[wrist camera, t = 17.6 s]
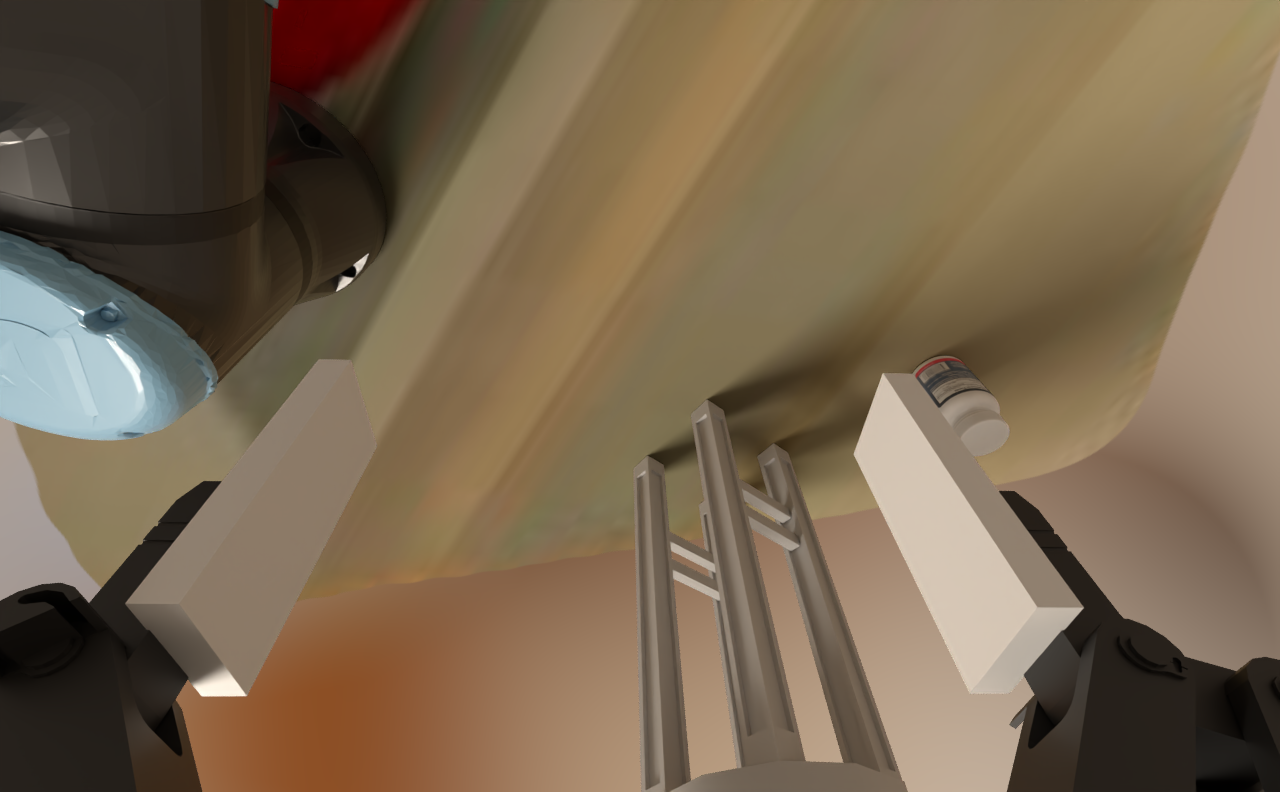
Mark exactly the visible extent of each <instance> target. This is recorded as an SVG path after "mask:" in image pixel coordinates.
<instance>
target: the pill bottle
mask: <svg viewBox="0 0 1280 792" xmlns="http://www.w3.org/2000/svg"><path fill="white" fill-rule="evenodd" d="M912 374H913V375H914V376H915V378H916V379H917V380H918V382H919V383H920V384H921V386H922V387H923V389H924V390H925V391H926V393H927V394H928V395H929V397H930V398H931V400H932V401H933V402H934V404H935V405H936V406H937V408H938V409H939V410H940V412H941V413H942V415H943V416H944V417H945V419H946V420H947V421H948V423H949V424H950V425H951V427H952V428H953V430H954V431H955V432H956V434H957V435H958V436H959V438H960V439H961V440H962V442H963V443H964V445H965V446H966V447H967V449H968V450H969V451H970V453H971V454H972V456H983V455H986V454H989V453H992V452H994V451H995V450H997V449H998V448H1000V447H1001V446H1002V445H1003V444H1004V443H1005V442H1006V440H1007V439H1008V437H1009V433H1010V430H1009V426H1008V424H1007V423H1006V422H1005V421H1004V419H1003V418H1002V417H1001V416H1000V415H999V414H1000V407H999V403H998V401H997V400H996V398H995V397H994V396H993V395H992V394H991V393H990V392H989V390H988V389H987V388H986V387H985V386H984V385H983V384H982V383H981V382H980V381H979V380H978V378H977V377H976V376H975V375H974V374H973V373H972V372H971V371H970V370H969V368H968V367H967V366H966V365H965V364H964V363H963V362H962V361H961V360H959V359H958V358H956V357H952V356H938V357H934V358H931V359H929V360H927V361H925V362H924V363H922V364H921V365H920V366H918V367H917V368H916V369H915V371H914V372H913V373H912Z"/></svg>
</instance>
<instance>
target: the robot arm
mask: <svg viewBox="0 0 1280 792" xmlns="http://www.w3.org/2000/svg"><path fill="white" fill-rule="evenodd" d="M278 1H279V0H0V417H2V418H5V419H7V420H10V421H13V422H15V423H18V424H21V425H24V426H27V427H31V428H34V429H38V430H41V431H45V432H49V433H54V434H58V435H63V436H68V437H74V438H80V439H90V440H122V439H130V438H137V437H140V436H144V435H145V434H147V433H153V432H156V431H159V430H162V429H164V428H166V427H167V426H169V425H171V424H172V423H174V422H175V421H176V420H178V419H179V418H180V417H181V416H183V415H184V414H185V413H187V412H188V411H189V410H191V409H192V408H193V407H195V406H196V405H197V404H198V403H200V402H202V401H204V400H206V399H207V398H208V397H209V396H210V395H211V394H212V393H213V392H215V389H216V388H217V384H218V383H219V382H220V381H221V380H222V379H223V378H224V377H225V376H226V375H227V374H228V373H229V372H230V371H231V370H232V368H233V367H234V366H235V365H236V364H237V363H238V362H239V361H240V360H241V359H242V358H243V357H244V356H245V355H246V354H247V353H248V352H249V351H250V350H251V349H252V348H253V347H254V346H255V345H256V344H257V343H258V342H259V341H260V340H261V339H262V338H263V337H264V336H265V335H266V334H267V333H268V332H269V331H270V330H271V329H272V328H273V327H274V326H275V325H276V324H277V323H278V322H279V321H280V319H281V318H282V317H283V316H284V315H285V314H286V313H287V312H288V311H289V310H290V309H291V308H292V307H293V306H294V305H297V304H300V303H304V302H307V301H311V300H314V299H318V298H321V297H324V296H328V295H331V294H333V293H336V292H338V291H340V290H342V289H344V288H345V287H347V286H348V285H350V284H351V283H353V282H354V281H355V280H356V279H357V278H358V277H360V276H361V274H362V273H363V272H364V271H365V270H366V269H367V268H368V266H369V265H370V264H371V263H372V262H373V260H374V259H375V258H376V256H377V254H378V252H379V250H380V248H381V246H382V243H383V240H384V235H385V230H386V206H385V200H384V195H383V192H382V188H381V185H380V182H379V179H378V177H377V174H376V172H375V170H374V168H373V166H372V164H371V162H370V161H369V159H368V157H367V156H366V154H365V152H364V151H363V149H362V148H361V147H360V145H359V144H358V142H357V141H356V140H355V139H354V137H353V136H352V135H351V134H350V133H349V132H348V131H347V129H346V128H345V127H344V126H343V125H342V124H341V123H340V122H339V121H338V120H336V119H335V118H334V117H333V116H332V115H331V114H330V113H328V112H327V111H326V110H325V109H323V108H322V107H321V106H319V105H318V104H316V103H315V102H313V101H312V100H310V99H308V98H307V97H305V96H303V95H302V94H300V93H298V92H296V91H294V90H292V89H289V88H287V87H285V86H282V85H280V84H277V83H274V82H271V81H270V71H271V46H272V21H273V8H277V9H278ZM376 447H377V444H376V440H375V437H374V434H373V431H372V427H371V424H370V421H369V417H368V414H367V411H366V407H365V404H364V401H363V397H362V394H361V391H360V388H359V384H358V381H357V378H356V374H355V371H354V368H353V364H352V361H351V360H326V359H319V360H318V361H317V362H316V363H315V365H314V366H313V367H312V368H311V370H310V371H309V372H308V373H307V375H306V376H305V377H304V378H303V380H302V381H301V382H300V384H299V385H298V386H297V387H296V389H295V390H294V391H293V392H292V394H291V395H290V396H289V397H288V399H287V400H286V401H285V402H284V404H283V405H282V406H281V407H280V409H279V410H278V411H277V413H276V414H275V415H274V416H273V418H272V419H271V420H270V421H269V423H268V424H267V425H266V426H265V428H264V429H263V430H262V431H261V433H260V434H259V435H258V437H257V438H256V439H255V440H254V442H253V443H252V444H251V445H250V447H249V448H248V449H247V450H246V452H245V453H244V454H243V455H242V457H241V458H240V459H239V460H238V462H237V463H236V464H235V466H234V467H233V468H232V469H231V471H230V472H229V473H228V474H227V476H226V477H225V478H224V479H223V481H203V482H202V483H200V484H199V485H197V486H196V487H195V488H193V489H192V490H190V491H189V492H188V493H186V494H185V495H183V496H182V497H180V498H179V499H178V500H176V502H175V503H174V504H173V505H172V506H171V507H170V509H169V510H168V511H167V512H166V513H165V514H164V516H163V517H162V518H161V519H160V520H159V522H158V526H154V527H153V529H152V530H151V531H150V532H149V533H148V534H147V536H146V537H145V538H144V539H143V544H142V545H138V546H137V547H136V549H135V550H134V551H133V552H132V553H131V554H130V556H129V557H128V558H127V559H126V560H125V561H124V563H123V564H122V565H121V566H120V567H119V569H118V570H117V571H116V572H115V573H114V574H113V576H112V577H111V578H110V579H109V580H108V581H107V583H106V584H105V585H104V586H103V587H102V589H101V590H100V591H99V592H98V593H97V595H96V596H95V597H94V598H93V599H92V601H91V602H90V603H88V602H87V600H86V599H85V598H84V597H83V596H82V595H81V594H80V593H79V592H78V590H77V589H76V588H75V587H73V586H70V585H66V584H63V583H52V584H41V585H38V586H35V587H31V588H28V589H25V590H22V591H19V592H17V593H15V594H13V595H11V596H9V597H7V598H5V599H3V600H1V601H0V792H202V788H201V784H200V781H199V776H198V772H197V768H196V764H195V760H194V756H193V752H192V748H191V744H190V741H189V736H188V732H187V728H186V724H185V720H184V716H183V712H182V709H181V707H180V706H179V704H178V703H177V701H176V700H175V699H176V698H177V696H178V694H179V693H180V691H181V689H182V687H183V686H184V685H185V683H186V681H187V680H189V681H190V683H191V684H192V685H193V686H194V687H195V689H196V690H197V691H198V692H199V693H200V695H201V696H247V695H248V693H249V691H250V689H251V687H252V685H253V683H254V681H255V679H256V678H257V676H258V674H259V672H260V670H261V668H262V666H263V664H264V662H265V660H266V658H267V656H268V655H269V652H270V651H271V649H272V647H273V645H274V643H275V641H276V639H277V637H278V635H279V633H280V631H281V629H282V628H283V626H284V624H285V622H286V620H287V618H288V616H289V614H290V612H291V610H292V608H293V607H294V605H295V603H296V601H297V599H298V597H299V595H300V593H301V591H302V589H303V587H304V585H305V584H306V582H307V580H308V578H309V576H310V574H311V572H312V570H313V568H314V566H315V564H316V562H317V561H318V559H319V557H320V555H321V553H322V551H323V549H324V547H325V545H326V543H327V541H328V539H329V538H330V536H331V534H332V532H333V530H334V528H335V526H336V524H337V522H338V520H339V518H340V516H341V515H342V513H343V511H344V509H345V507H346V505H347V503H348V501H349V499H350V497H351V495H352V493H353V492H354V490H355V488H356V486H357V484H358V482H359V480H360V478H361V476H362V474H363V472H364V470H365V468H366V467H367V465H368V463H369V461H370V459H371V457H372V455H373V453H374V451H375V449H376ZM854 456H855V458H856V460H857V462H858V464H859V466H860V468H861V470H862V472H863V474H864V476H865V479H866V481H867V483H868V485H869V487H870V489H871V491H872V493H873V495H874V497H875V499H876V501H877V503H878V505H879V507H880V509H881V511H882V514H883V515H884V518H885V520H886V522H887V524H888V526H889V528H890V530H891V532H892V534H893V536H894V538H895V540H896V542H897V544H898V547H899V548H900V551H901V553H902V555H903V557H904V559H905V561H906V563H907V565H908V567H909V569H910V571H911V573H912V575H913V577H914V579H915V582H916V583H917V586H918V588H919V590H920V592H921V594H922V596H923V598H924V600H925V602H926V604H927V606H928V608H929V610H930V612H931V614H932V616H933V619H934V621H935V623H936V625H937V627H938V629H939V631H940V633H941V635H942V637H943V639H944V641H945V643H946V645H947V647H948V650H949V651H950V654H951V656H952V658H953V660H954V662H955V664H956V666H957V668H958V670H959V672H960V674H961V676H962V678H963V680H964V683H965V685H966V687H967V689H968V691H969V693H970V694H991V693H994V694H995V693H996V694H999V693H1001V694H1003V693H1004V694H1005V693H1006V694H1007V693H1010V692H1011V691H1012V690H1013V689H1014V688H1015V687H1016V685H1017V684H1018V683H1019V682H1020V681H1021V680H1022V678H1023V677H1025V678H1026V680H1027V682H1028V684H1029V685H1030V687H1031V689H1032V690H1033V692H1034V694H1035V695H1034V696H1033V697H1032V698H1031V699H1030V700H1029V702H1028V703H1027V704H1026V705H1025V706H1024V707H1023V708H1022V709H1021V710H1020V711H1019V712H1018V713H1017V714H1016V716H1015V717H1014V718H1013V720H1012V721H1011V723H1010V725H1011V726H1012V727H1014V728H1015V729H1016V728H1017V727H1018V726H1019V725H1020V724H1021V723H1022V722H1023V721H1024V722H1023V726H1022V730H1021V734H1020V739H1019V743H1018V747H1017V752H1016V756H1015V760H1014V764H1013V769H1012V773H1011V777H1010V781H1009V785H1008V790H1007V792H1280V660H1277V659H1272V658H1268V657H1262V658H1255V659H1252V660H1251V661H1249V662H1248V663H1247V664H1245V665H1244V666H1243V667H1241V668H1240V669H1239V670H1238V671H1234V670H1230V669H1227V668H1223V667H1220V666H1216V665H1212V664H1209V663H1205V662H1202V661H1198V660H1194V659H1191V658H1187V657H1184V655H1183V654H1182V652H1181V651H1180V650H1179V649H1178V648H1177V647H1176V646H1174V645H1173V644H1172V643H1171V642H1170V641H1169V640H1168V639H1167V638H1165V637H1164V636H1163V635H1161V634H1159V633H1158V632H1156V631H1154V630H1153V629H1151V628H1149V627H1148V626H1146V625H1143V624H1140V623H1138V622H1135V621H1133V620H1130V619H1124V618H1123V617H1122V616H1121V615H1120V614H1119V613H1118V612H1117V610H1116V609H1115V608H1114V606H1113V605H1112V604H1111V602H1110V601H1109V600H1108V599H1107V597H1106V596H1105V595H1104V594H1103V592H1102V591H1101V590H1100V588H1099V587H1098V586H1097V585H1096V583H1095V582H1094V581H1093V579H1092V578H1091V577H1090V576H1089V574H1088V573H1087V572H1086V570H1085V569H1084V568H1083V567H1082V565H1081V564H1080V563H1079V562H1078V560H1077V559H1076V558H1075V557H1074V555H1073V554H1072V553H1071V552H1068V551H1067V546H1066V545H1065V544H1064V542H1063V541H1062V540H1061V539H1060V537H1059V536H1058V535H1057V534H1054V530H1053V528H1052V527H1051V526H1050V524H1049V523H1048V522H1047V520H1046V519H1045V518H1044V517H1043V515H1042V514H1041V513H1040V511H1039V510H1038V509H1037V508H1035V507H1034V506H1033V505H1032V504H1030V503H1029V502H1027V501H1026V500H1025V499H1024V498H1022V497H1021V496H1020V495H1019V494H1017V493H1016V492H1015V491H998V490H997V488H996V487H995V486H994V484H993V483H992V481H991V480H990V479H989V477H988V476H987V475H986V473H985V472H984V471H983V469H982V468H981V466H980V465H979V464H978V462H977V461H976V460H975V458H974V457H973V456H972V454H971V453H970V451H969V450H968V449H967V447H966V446H965V445H964V443H963V442H962V440H961V439H960V438H959V436H958V435H957V434H956V432H955V431H954V430H953V428H952V427H951V425H950V424H949V423H948V421H947V420H946V419H945V417H944V416H943V415H942V413H941V412H940V410H939V409H938V408H937V406H936V405H935V404H934V402H933V401H932V400H931V398H930V397H929V395H928V394H927V393H926V391H925V390H924V389H923V387H922V386H921V384H920V383H919V382H918V380H917V379H916V378H915V376H914V375H913V374H906V373H883V374H882V377H881V380H880V383H879V385H878V388H877V391H876V394H875V396H874V399H873V402H872V405H871V408H870V410H869V413H868V416H867V419H866V421H865V424H864V427H863V430H862V433H861V435H860V438H859V441H858V444H857V446H856V449H855V452H854Z"/></svg>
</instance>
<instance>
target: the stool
mask: <svg viewBox="0 0 1280 792" xmlns="http://www.w3.org/2000/svg"><path fill="white" fill-rule="evenodd" d="M691 418H692V425H693V431H694V437H695V444H696V450H697V457H698V463H699V469H700V476H701V482H702V488H703V495H704V501H703V502H702V503H701V504H699V509H700V516H701V523H702V530H703V537H704V544H705V550H704V549H702V548H700V547H698V546H696V545H694V544H692V543H690V542H688V541H687V540H685V539H683V538H681V537H679V536H677V535H675V534H673V533H671V532H669V521H668V509H667V497H666V485H665V474H664V465H663V464H661V463H660V462H658V461H656V460H654V459H653V458H651V457H649V456H648V455H647V456H646V457H645V458H644V459H643V460H642V461H641V462H640V463H639V464H638V465H637V466H636V467H635V468H634V508H635V550H636V590H637V636H638V673H639V674H638V678H639V718H640V720H639V721H640V763H641V792H908V791H907V788H906V785H905V782H904V781H902V778H901V775H900V772H899V769H898V766H897V764H896V761H895V758H894V755H893V752H892V749H891V746H890V744H889V741H888V738H887V735H886V732H885V729H884V726H883V724H882V721H881V718H880V715H879V712H878V709H877V707H876V703H875V701H874V698H873V695H872V692H871V689H870V686H869V683H868V680H867V678H866V675H865V672H864V669H863V666H862V663H861V660H860V658H859V655H858V652H857V649H856V646H855V643H854V640H853V637H852V635H851V632H850V629H849V626H848V623H847V620H846V618H845V615H844V612H843V609H842V606H841V603H840V600H839V597H838V594H837V592H836V589H835V586H834V583H833V580H832V577H831V575H830V572H829V569H828V566H827V563H826V560H825V557H824V555H823V552H822V549H821V546H820V543H819V540H818V537H817V534H816V532H815V529H814V526H813V523H812V520H811V517H810V514H809V511H808V508H807V506H806V503H805V500H804V497H803V494H802V491H801V488H800V486H799V483H798V480H797V477H796V474H795V471H794V468H793V465H792V463H791V460H790V457H789V454H788V452H786V451H785V450H783V449H782V448H780V447H779V446H777V445H776V444H774V443H773V444H772V445H771V446H769V447H768V448H767V449H766V450H764V451H763V452H762V453H761V454H760V455H758V456H757V457H758V461H759V465H760V468H761V472H762V475H763V479H764V482H765V486H766V489H767V493H768V496H767V495H766V494H764V493H762V492H761V491H759V490H757V489H756V488H754V487H752V486H751V485H749V484H747V483H746V482H744V481H742V480H741V479H739V475H738V470H737V466H736V462H735V457H734V453H733V449H732V445H731V440H730V436H729V432H728V428H727V423H726V419H725V415H724V410H722V409H721V408H719V407H718V406H716V405H715V404H713V403H712V402H710V401H709V400H706V401H705V402H703V403H702V404H701V405H700V406H699V407H698V408H697V409H696V410H695V411H694V412H693V413H692V414H691ZM745 501H746V502H747V503H749V504H751V505H752V506H754V507H756V508H758V509H759V510H761V511H763V512H764V513H766V514H768V515H769V516H771V517H773V518H775V521H776V523H775V522H773V521H772V520H770V519H768V518H767V517H765V516H763V515H761V514H760V513H758V512H756V511H755V510H753V509H751V508H749V507H748V506H746V504H745ZM751 529H753V530H754V531H756V532H758V533H760V534H762V535H763V536H765V537H767V538H769V539H770V540H772V541H774V542H776V543H777V544H779V545H781V546H783V550H784V553H785V557H786V560H787V564H788V567H789V571H790V574H791V578H792V582H793V585H794V589H795V592H796V596H797V599H798V603H799V606H800V610H801V613H802V617H803V621H804V624H805V628H806V631H807V635H808V638H809V642H810V645H811V649H812V653H813V656H814V660H815V663H816V667H817V670H818V674H819V677H820V681H821V684H822V688H823V691H824V695H825V699H826V702H827V706H828V709H829V713H830V716H831V720H832V724H833V727H834V731H835V734H836V738H837V741H838V745H839V748H840V752H841V755H842V759H843V762H844V763H832V762H806V761H805V757H804V752H803V748H802V744H801V739H800V735H799V731H798V727H797V722H796V718H795V714H794V710H793V705H792V701H791V697H790V693H789V688H788V684H787V680H786V675H785V671H784V667H783V662H782V659H781V654H780V650H779V646H778V641H777V637H776V633H775V628H774V624H773V620H772V615H771V611H770V607H769V603H768V598H767V594H766V590H765V586H764V582H763V577H762V573H761V569H760V564H759V561H758V556H757V551H756V547H755V543H754V539H753V534H752V530H751ZM671 551H673V552H675V553H677V554H679V555H681V556H683V557H685V558H687V559H689V560H691V561H693V562H695V563H697V564H699V565H701V566H703V567H705V568H707V569H708V571H709V577H707V576H705V575H703V574H701V573H699V572H697V571H695V570H693V569H691V568H689V567H687V566H685V565H683V564H681V563H679V562H677V561H675V560H673V559H672V556H671ZM674 579H675V580H677V581H679V582H681V583H683V584H686V585H688V586H690V587H692V588H694V589H696V590H698V591H700V592H702V593H704V594H707V595H708V596H711V597H712V599H713V606H714V613H715V619H716V626H717V633H718V640H719V647H720V654H721V660H722V667H723V674H724V681H725V687H726V695H727V702H728V709H729V715H730V723H731V729H732V735H733V743H734V749H735V757H736V764H737V769H732V770H726V771H721V772H715V773H710V774H705V775H701V776H700V777H697V778H696V779H694V780H692V781H691V778H690V767H689V755H688V743H687V731H686V719H685V708H684V697H683V684H682V675H681V674H682V673H681V661H680V650H679V638H678V626H677V614H676V603H675V592H674Z"/></svg>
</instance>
